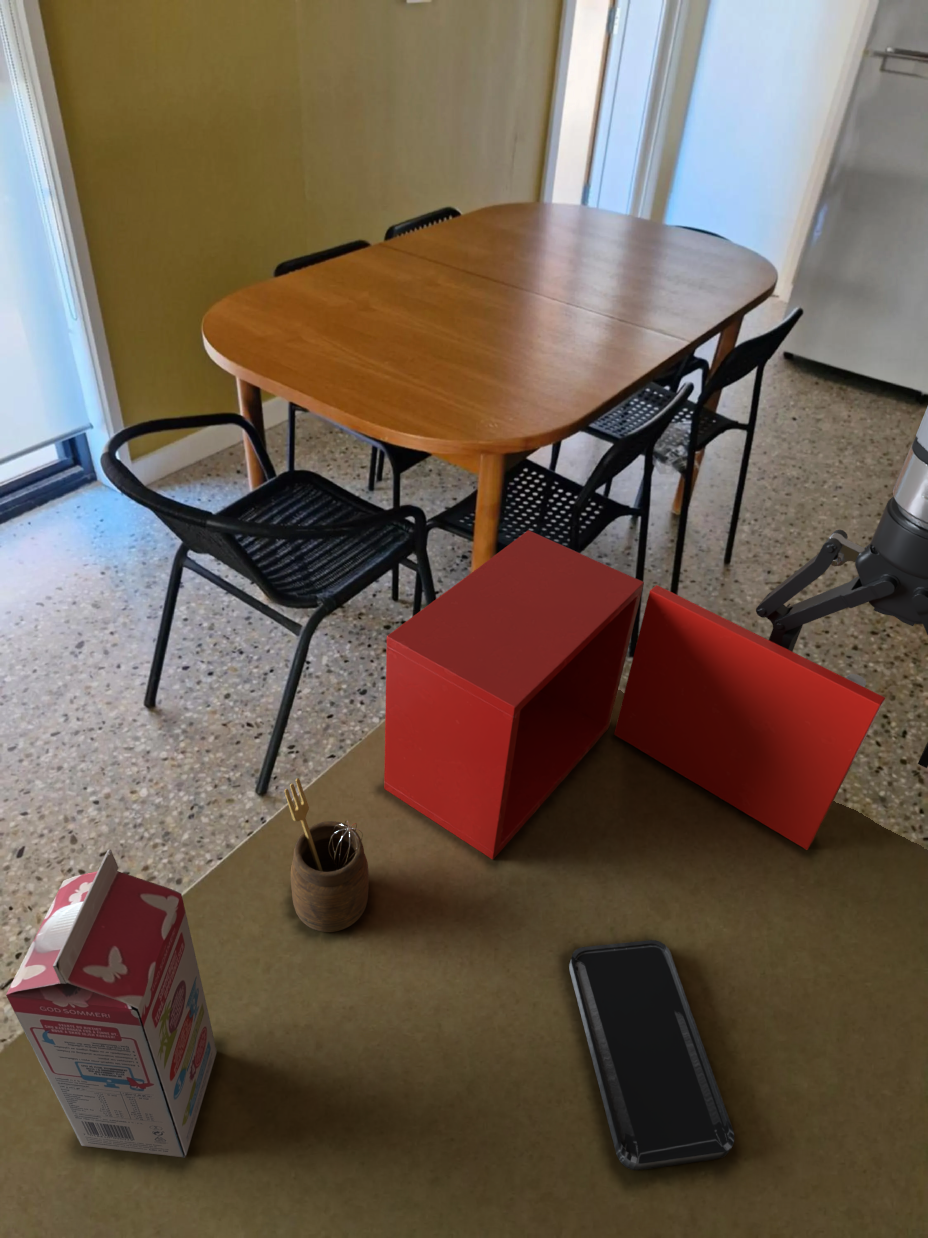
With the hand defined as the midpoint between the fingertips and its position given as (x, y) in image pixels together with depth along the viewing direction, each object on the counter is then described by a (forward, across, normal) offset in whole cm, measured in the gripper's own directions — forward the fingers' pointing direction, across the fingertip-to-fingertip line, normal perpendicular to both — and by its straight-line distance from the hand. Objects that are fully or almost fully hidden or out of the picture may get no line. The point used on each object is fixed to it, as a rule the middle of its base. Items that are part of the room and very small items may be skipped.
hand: (846, 720), depth 78 cm
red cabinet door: (+9, -8, -3) cm, 12 cm away
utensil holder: (+9, -27, -37) cm, 47 cm away
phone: (+9, -1, -32) cm, 33 cm away
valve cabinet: (+9, -25, -16) cm, 31 cm away
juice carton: (+9, -26, -55) cm, 62 cm away
